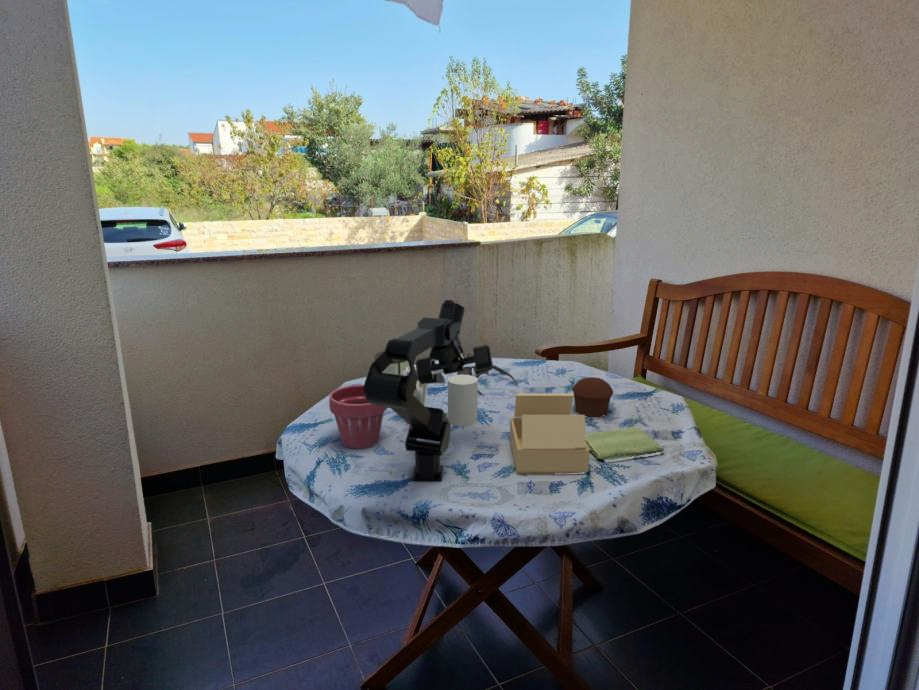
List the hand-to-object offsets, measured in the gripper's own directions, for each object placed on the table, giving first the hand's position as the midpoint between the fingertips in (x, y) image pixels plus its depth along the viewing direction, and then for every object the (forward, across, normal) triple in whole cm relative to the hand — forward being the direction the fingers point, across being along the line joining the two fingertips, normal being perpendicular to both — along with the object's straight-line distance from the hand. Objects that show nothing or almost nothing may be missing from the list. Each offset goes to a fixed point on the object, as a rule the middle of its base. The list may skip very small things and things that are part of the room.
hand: (461, 378), depth 143 cm
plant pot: (0, +28, +12) cm, 30 cm away
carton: (+4, -17, +23) cm, 29 cm away
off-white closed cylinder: (+15, +4, +6) cm, 16 cm away
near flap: (-7, -20, +21) cm, 30 cm away
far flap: (+3, -19, +11) cm, 22 cm away
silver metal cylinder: (+12, +16, +4) cm, 21 cm away
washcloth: (+12, -35, +22) cm, 44 cm away
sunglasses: (+37, -2, -13) cm, 39 cm away
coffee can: (+21, +25, -8) cm, 34 cm away
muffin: (+27, -32, +6) cm, 42 cm away
